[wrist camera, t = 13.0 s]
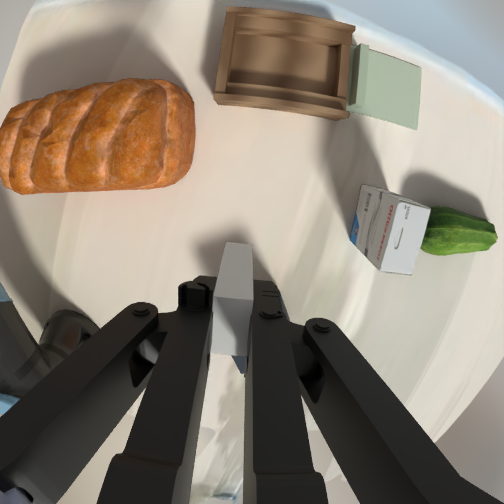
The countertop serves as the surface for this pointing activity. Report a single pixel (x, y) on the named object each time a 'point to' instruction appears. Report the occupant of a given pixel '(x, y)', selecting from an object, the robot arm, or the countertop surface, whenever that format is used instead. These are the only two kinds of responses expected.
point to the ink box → (389, 229)
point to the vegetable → (456, 233)
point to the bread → (99, 138)
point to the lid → (383, 87)
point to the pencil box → (284, 62)
